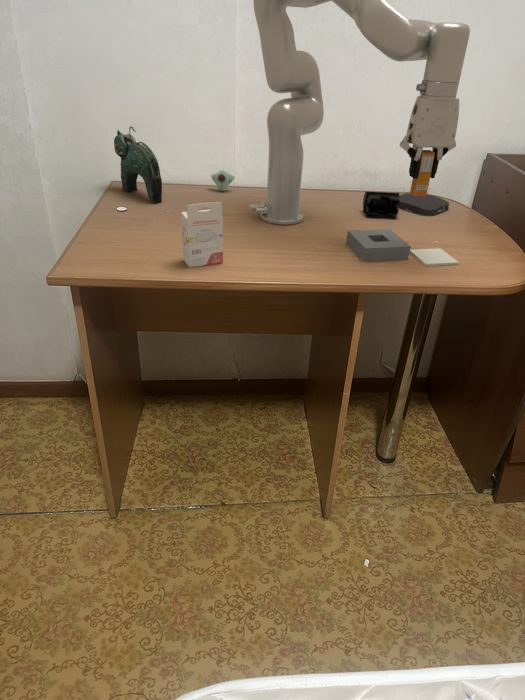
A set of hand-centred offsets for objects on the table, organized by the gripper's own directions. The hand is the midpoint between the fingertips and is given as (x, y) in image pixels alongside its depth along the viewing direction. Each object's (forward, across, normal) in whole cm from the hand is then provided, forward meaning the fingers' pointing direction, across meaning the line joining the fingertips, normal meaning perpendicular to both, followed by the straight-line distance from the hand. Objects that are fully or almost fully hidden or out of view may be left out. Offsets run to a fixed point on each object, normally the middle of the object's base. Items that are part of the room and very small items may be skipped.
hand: (421, 176), depth 121 cm
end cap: (+20, +6, +30) cm, 37 cm away
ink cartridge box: (+20, -52, +2) cm, 55 cm away
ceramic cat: (+19, -64, +54) cm, 86 cm away
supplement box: (+5, 0, 0) cm, 5 cm away
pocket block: (+20, -7, +3) cm, 21 cm away
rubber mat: (+20, +6, -2) cm, 21 cm away
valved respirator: (+19, -39, +57) cm, 71 cm away
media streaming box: (+20, +23, +37) cm, 48 cm away
